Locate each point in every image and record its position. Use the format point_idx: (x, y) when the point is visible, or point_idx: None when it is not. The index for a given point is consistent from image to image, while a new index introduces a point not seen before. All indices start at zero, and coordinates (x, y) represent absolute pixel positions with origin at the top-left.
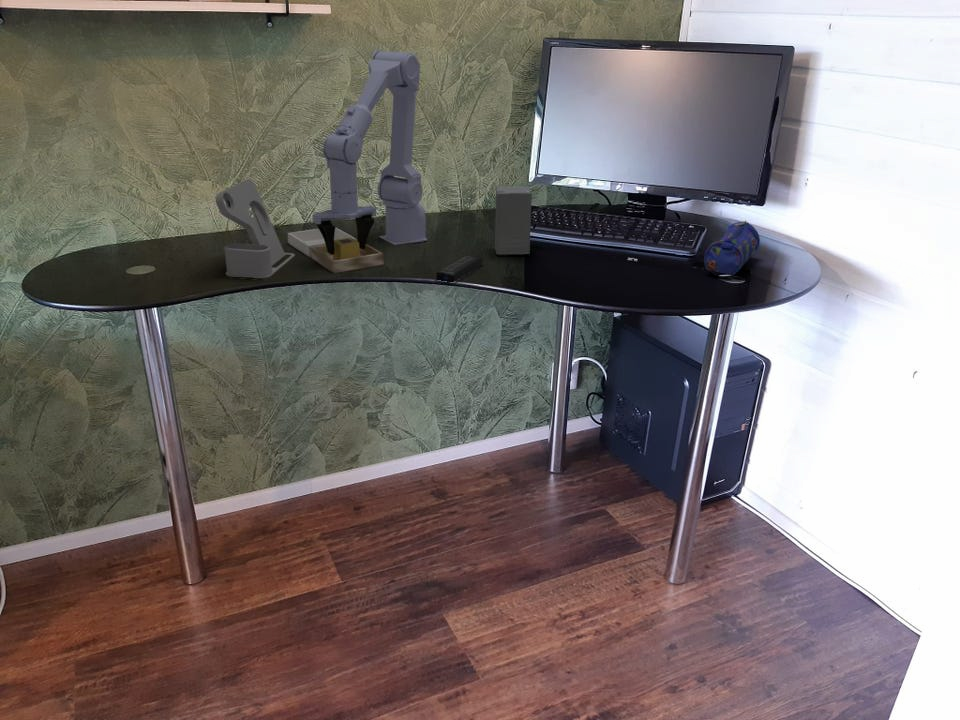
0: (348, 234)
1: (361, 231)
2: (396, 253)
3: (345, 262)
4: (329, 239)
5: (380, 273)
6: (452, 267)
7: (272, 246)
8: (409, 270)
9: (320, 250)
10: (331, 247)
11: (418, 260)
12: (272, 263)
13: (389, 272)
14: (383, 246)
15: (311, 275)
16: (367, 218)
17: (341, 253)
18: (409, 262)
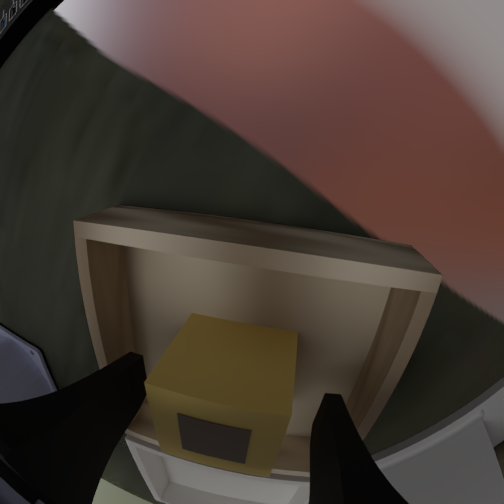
0: (138, 467)
1: (89, 434)
2: (44, 303)
3: (355, 255)
4: (377, 469)
5: (186, 113)
6: (12, 13)
7: (429, 492)
8: (71, 96)
9: (299, 457)
10: (353, 423)
11: (14, 193)
12: (460, 436)
13: (142, 106)
14: (66, 374)
15: (470, 306)
16: (5, 463)
17: (294, 374)
18: (34, 190)
